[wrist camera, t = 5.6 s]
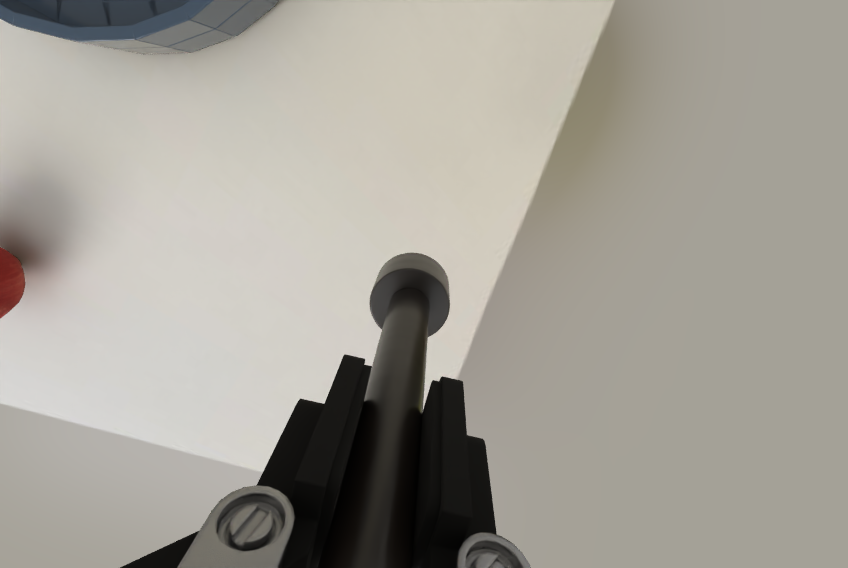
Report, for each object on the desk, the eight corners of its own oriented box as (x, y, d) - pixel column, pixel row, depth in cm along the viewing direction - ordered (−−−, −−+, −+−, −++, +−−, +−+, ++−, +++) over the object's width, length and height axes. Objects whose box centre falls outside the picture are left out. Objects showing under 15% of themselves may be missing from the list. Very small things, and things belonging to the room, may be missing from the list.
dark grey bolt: (457, 262, 18) (491, 629, 5) (438, 326, 20) (431, 750, 7) (384, 244, 18) (242, 580, 5) (370, 310, 19) (227, 713, 7)
